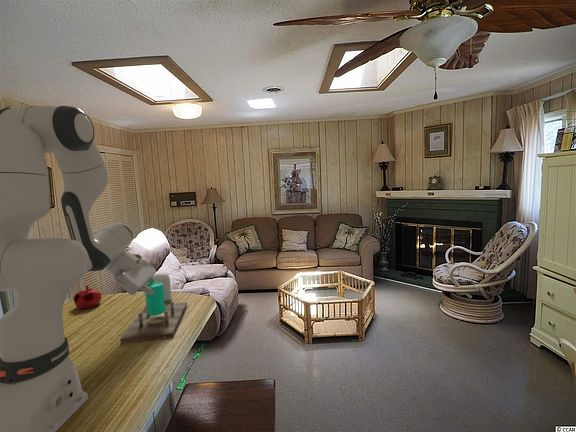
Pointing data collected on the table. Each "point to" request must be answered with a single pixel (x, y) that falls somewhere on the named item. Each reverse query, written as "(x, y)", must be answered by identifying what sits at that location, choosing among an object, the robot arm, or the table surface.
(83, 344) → the table surface
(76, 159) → the robot arm
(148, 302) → the candle
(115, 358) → the table surface
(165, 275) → the photo printer
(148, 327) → the candle stand
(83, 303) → the pomegranate
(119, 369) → the table surface
